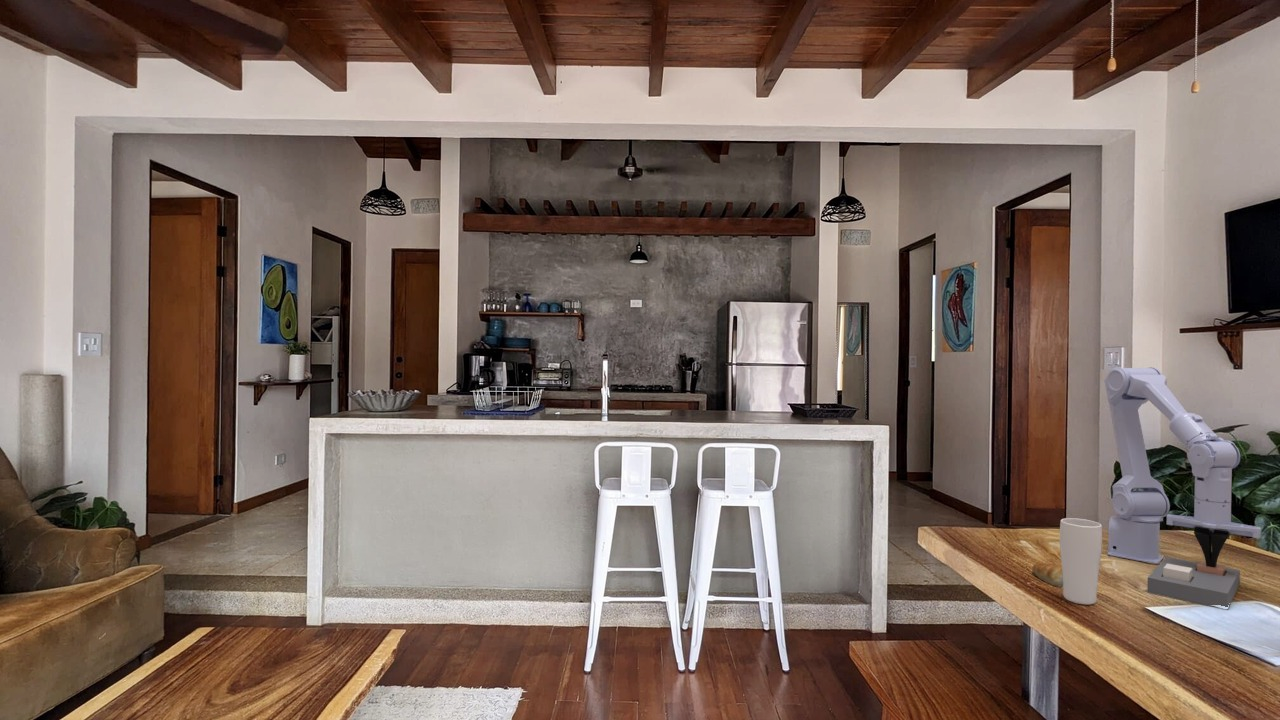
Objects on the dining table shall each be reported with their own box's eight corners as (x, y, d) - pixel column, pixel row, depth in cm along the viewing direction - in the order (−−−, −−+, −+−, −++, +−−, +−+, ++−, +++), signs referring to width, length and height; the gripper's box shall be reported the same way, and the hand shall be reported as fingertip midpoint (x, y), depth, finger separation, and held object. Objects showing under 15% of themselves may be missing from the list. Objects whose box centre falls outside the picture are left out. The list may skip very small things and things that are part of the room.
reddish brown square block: (1196, 580, 138) (1197, 565, 138) (1199, 575, 141) (1200, 561, 141) (1222, 585, 135) (1222, 570, 135) (1225, 580, 138) (1225, 565, 138)
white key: (1163, 582, 134) (1163, 567, 134) (1166, 578, 137) (1167, 563, 137) (1188, 588, 131) (1189, 572, 131) (1192, 583, 134) (1192, 568, 134)
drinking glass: (1101, 609, 124) (1103, 528, 124) (1058, 602, 128) (1059, 523, 128) (1100, 598, 130) (1101, 521, 130) (1058, 591, 134) (1059, 516, 133)
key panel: (1147, 592, 133) (1147, 577, 133) (1166, 570, 147) (1166, 556, 147) (1227, 609, 125) (1227, 593, 125) (1239, 584, 138) (1239, 569, 138)
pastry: (1022, 574, 145) (1023, 556, 145) (1049, 572, 146) (1049, 555, 146) (1058, 589, 136) (1059, 570, 135) (1086, 587, 137) (1087, 568, 137)
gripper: (1164, 496, 140) (1163, 561, 140) (1258, 509, 130) (1257, 579, 130) (1170, 492, 145) (1169, 555, 145) (1262, 503, 135) (1260, 571, 135)
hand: (1211, 566), depth 138 cm, fingers closed, pressing on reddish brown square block
